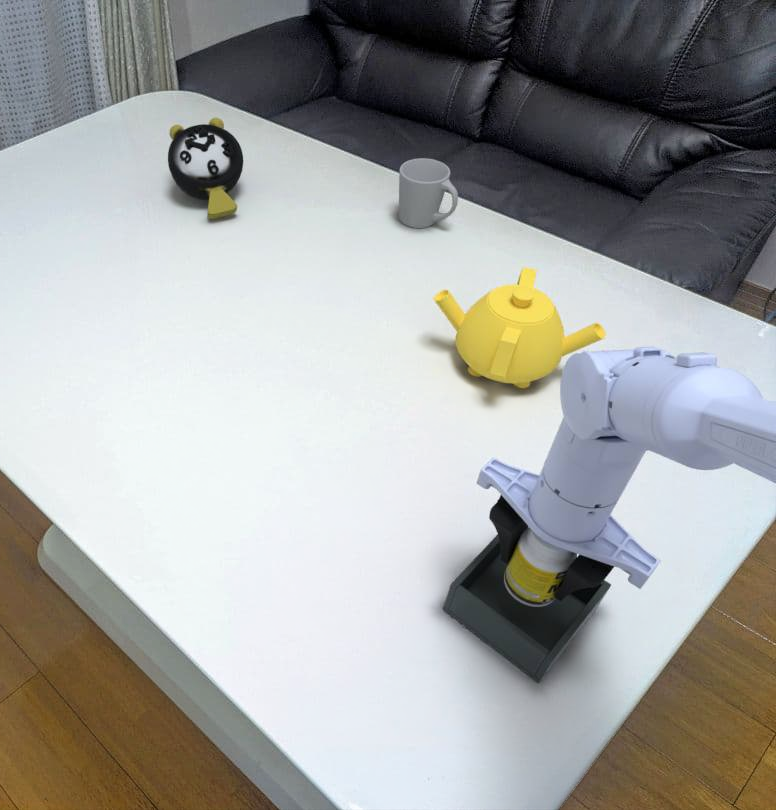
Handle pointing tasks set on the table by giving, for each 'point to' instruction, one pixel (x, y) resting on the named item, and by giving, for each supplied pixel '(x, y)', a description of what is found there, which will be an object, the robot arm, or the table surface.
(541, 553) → the supplement bottle
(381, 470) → the table surface
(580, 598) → the storage tray
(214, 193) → the alarm clock
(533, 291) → the teapot
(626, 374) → the robot arm
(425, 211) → the cup
